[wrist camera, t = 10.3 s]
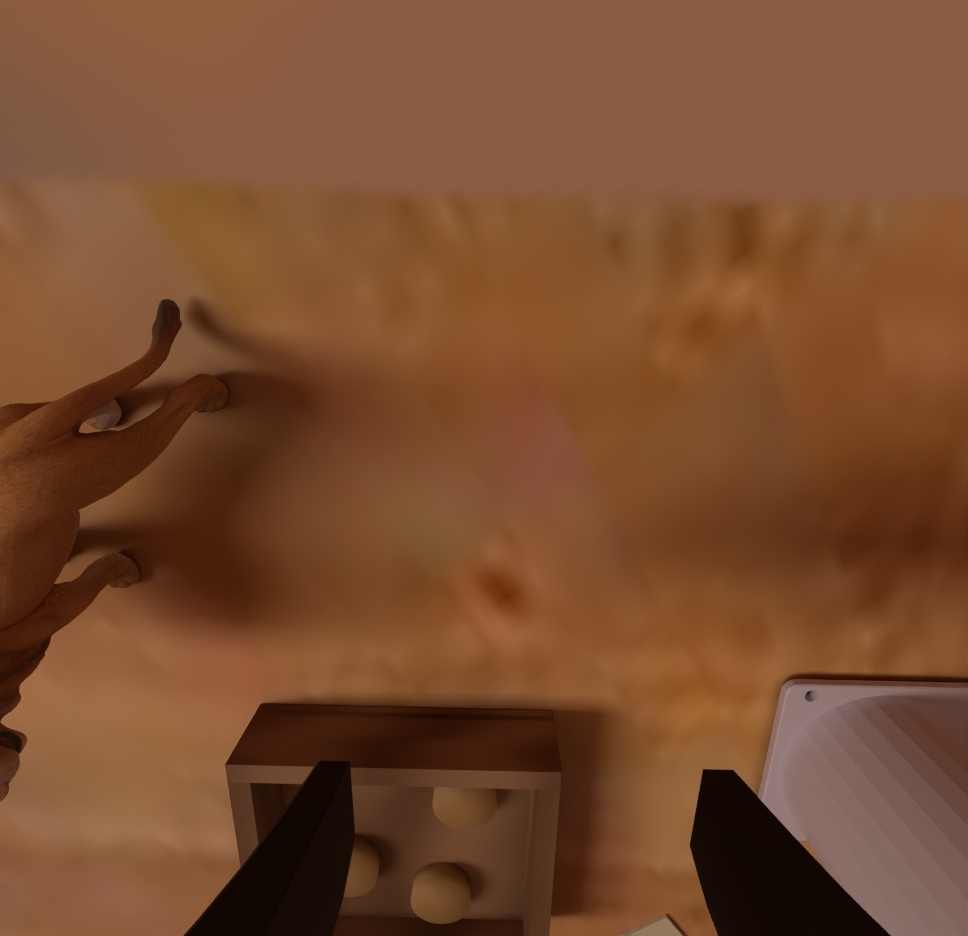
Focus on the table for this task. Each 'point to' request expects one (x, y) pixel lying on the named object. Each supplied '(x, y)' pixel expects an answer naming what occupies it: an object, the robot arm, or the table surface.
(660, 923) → the lid
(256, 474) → the table surface
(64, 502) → the lion figurine
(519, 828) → the wooden tray
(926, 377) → the table surface
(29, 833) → the table surface
